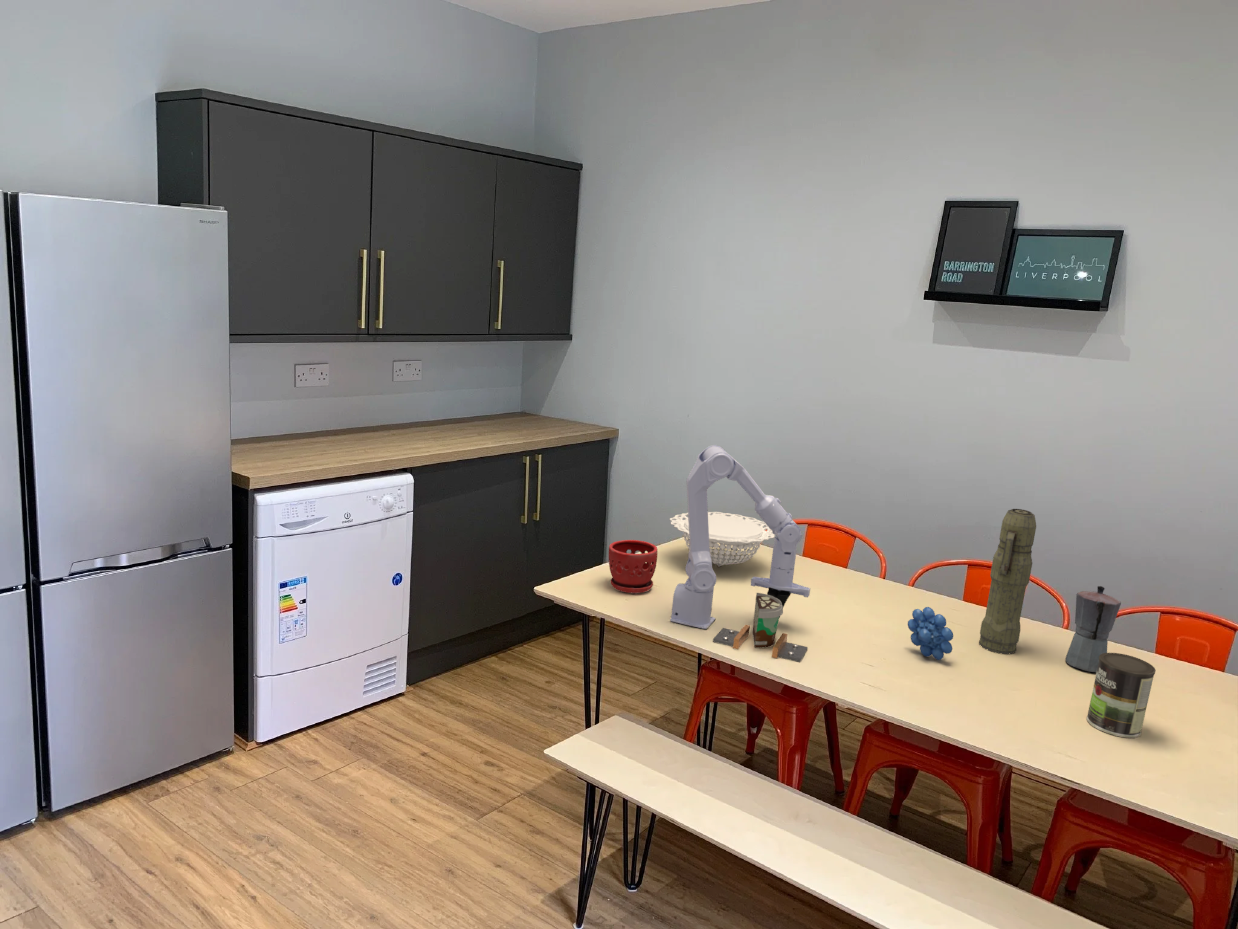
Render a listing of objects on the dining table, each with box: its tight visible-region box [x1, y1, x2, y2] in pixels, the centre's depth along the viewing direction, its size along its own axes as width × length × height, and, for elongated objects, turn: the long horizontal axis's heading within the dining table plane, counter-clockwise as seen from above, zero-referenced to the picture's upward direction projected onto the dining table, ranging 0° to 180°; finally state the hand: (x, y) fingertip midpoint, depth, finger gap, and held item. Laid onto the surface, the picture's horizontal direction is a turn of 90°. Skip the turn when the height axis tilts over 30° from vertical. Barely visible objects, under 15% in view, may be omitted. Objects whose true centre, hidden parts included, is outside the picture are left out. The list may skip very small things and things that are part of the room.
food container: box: [751, 592, 784, 649], centre depth 219 cm, size 12×6×10 cm, turn 175°
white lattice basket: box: [669, 511, 776, 567], centre depth 273 cm, size 32×32×13 cm
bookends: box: [712, 624, 809, 663], centre depth 217 cm, size 21×10×2 cm, turn 67°
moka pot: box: [1064, 585, 1122, 673], centre depth 219 cm, size 10×15×20 cm, turn 161°
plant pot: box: [608, 539, 658, 595], centre depth 248 cm, size 13×13×12 cm
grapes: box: [907, 606, 954, 661], centre depth 217 cm, size 12×7×12 cm, turn 45°
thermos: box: [978, 508, 1037, 655], centre depth 225 cm, size 9×12×35 cm
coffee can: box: [1086, 652, 1156, 739], centre depth 189 cm, size 10×10×14 cm
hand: (776, 618), depth 231 cm, fingers closed
